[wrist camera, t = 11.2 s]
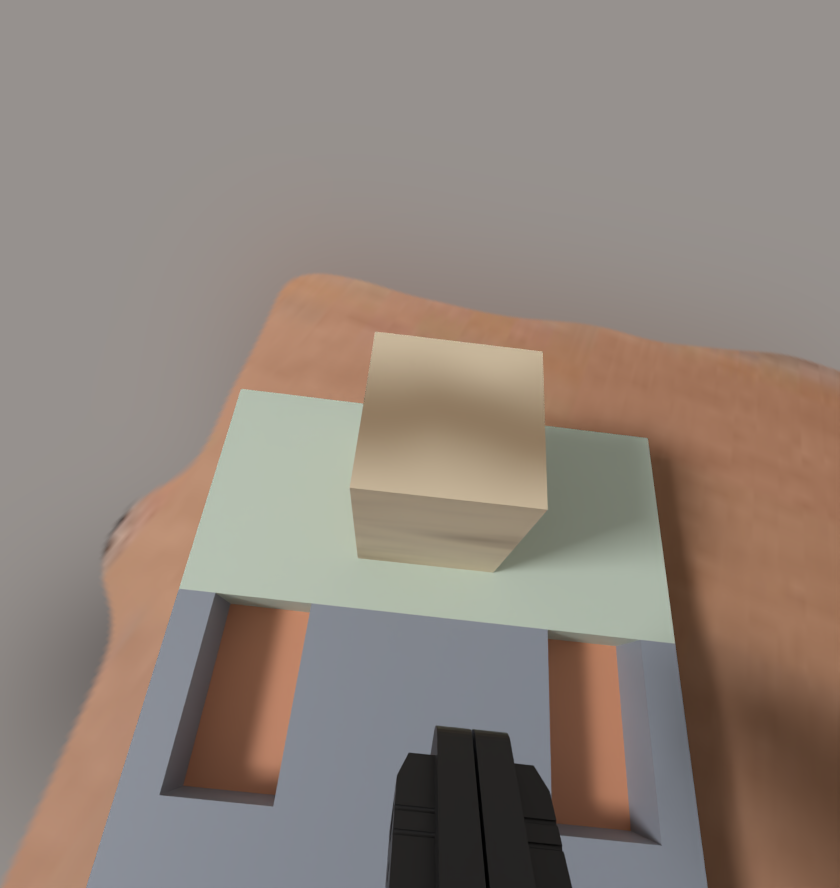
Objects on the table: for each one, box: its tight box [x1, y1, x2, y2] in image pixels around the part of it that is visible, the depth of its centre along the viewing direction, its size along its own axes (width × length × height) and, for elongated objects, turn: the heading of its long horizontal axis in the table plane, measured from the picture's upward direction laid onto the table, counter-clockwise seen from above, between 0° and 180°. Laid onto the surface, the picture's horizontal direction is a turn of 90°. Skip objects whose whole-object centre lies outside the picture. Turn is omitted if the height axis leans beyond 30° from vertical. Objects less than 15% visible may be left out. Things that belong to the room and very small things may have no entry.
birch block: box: [350, 332, 548, 573], centre depth 20 cm, size 6×6×8 cm
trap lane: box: [86, 389, 708, 888], centre depth 21 cm, size 26×21×3 cm
